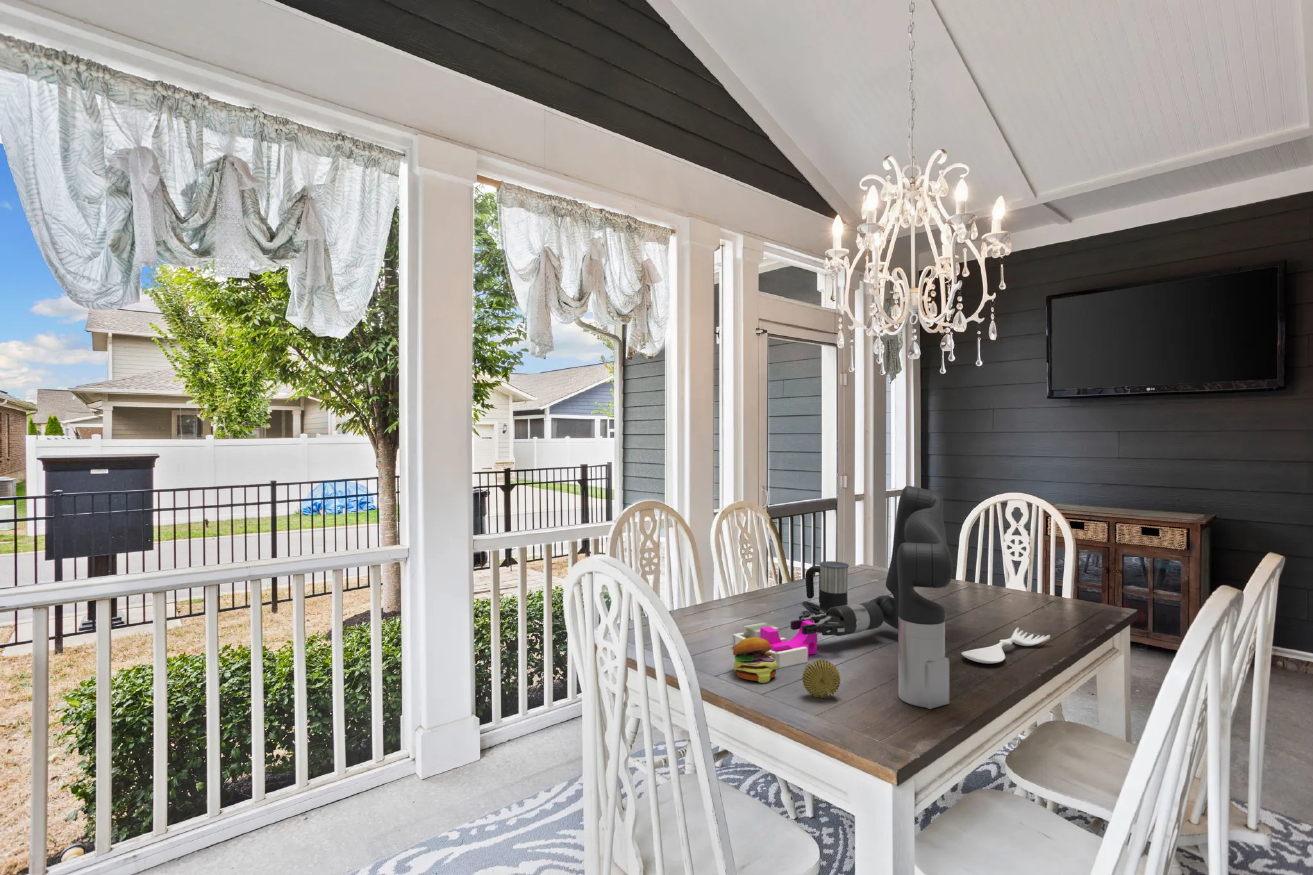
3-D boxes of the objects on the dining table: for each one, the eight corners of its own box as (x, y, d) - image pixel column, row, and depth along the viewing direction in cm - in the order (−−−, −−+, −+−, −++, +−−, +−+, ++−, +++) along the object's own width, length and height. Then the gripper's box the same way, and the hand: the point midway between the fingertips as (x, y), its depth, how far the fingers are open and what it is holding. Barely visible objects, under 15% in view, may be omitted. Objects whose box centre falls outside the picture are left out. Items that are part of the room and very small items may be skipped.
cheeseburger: (745, 686, 147) (740, 640, 149) (727, 681, 157) (722, 638, 159) (785, 680, 150) (780, 635, 152) (765, 676, 160) (760, 633, 162)
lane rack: (807, 661, 163) (807, 647, 163) (775, 668, 158) (775, 654, 158) (763, 641, 179) (763, 628, 178) (732, 647, 174) (732, 634, 174)
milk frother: (848, 606, 214) (848, 561, 214) (849, 620, 199) (849, 571, 199) (804, 604, 218) (804, 559, 218) (801, 616, 203) (801, 569, 203)
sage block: (779, 651, 171) (778, 628, 171) (757, 655, 168) (757, 632, 168) (764, 644, 177) (764, 622, 177) (743, 648, 173) (743, 626, 173)
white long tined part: (1052, 646, 174) (1051, 633, 174) (989, 672, 156) (989, 657, 156) (1017, 638, 182) (1017, 625, 182) (953, 661, 163) (953, 647, 163)
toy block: (774, 665, 160) (774, 635, 160) (759, 657, 166) (760, 627, 166) (823, 656, 167) (823, 627, 166) (807, 648, 172) (808, 620, 172)
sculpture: (837, 693, 143) (837, 657, 143) (842, 701, 139) (842, 663, 139) (800, 693, 143) (800, 656, 143) (804, 700, 139) (804, 663, 139)
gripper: (829, 599, 182) (779, 606, 174) (867, 612, 169) (815, 620, 162) (829, 626, 182) (779, 634, 174) (867, 640, 170) (815, 650, 162)
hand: (797, 627), depth 168 cm, fingers closed on toy block, 4 cm apart
